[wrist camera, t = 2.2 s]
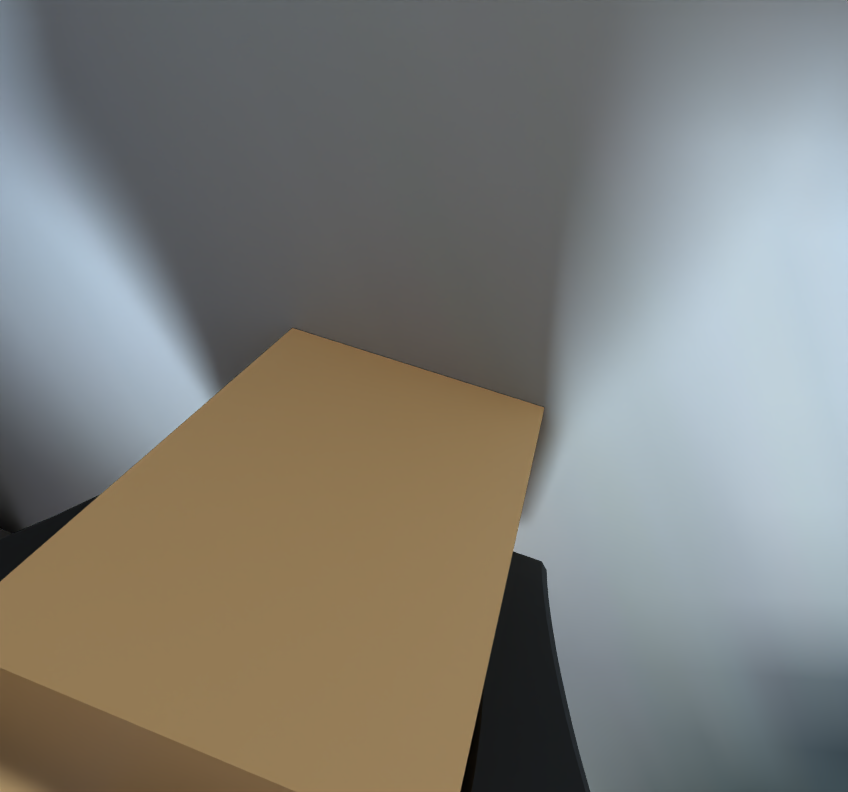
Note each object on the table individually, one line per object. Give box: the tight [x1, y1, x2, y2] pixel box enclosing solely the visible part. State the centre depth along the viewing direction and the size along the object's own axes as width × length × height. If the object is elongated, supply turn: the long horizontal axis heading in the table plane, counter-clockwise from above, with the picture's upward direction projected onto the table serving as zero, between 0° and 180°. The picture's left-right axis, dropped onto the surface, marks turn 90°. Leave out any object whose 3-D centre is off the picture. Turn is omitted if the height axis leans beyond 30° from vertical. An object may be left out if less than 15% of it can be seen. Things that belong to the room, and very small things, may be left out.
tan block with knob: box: [0, 328, 544, 792], centre depth 8 cm, size 5×4×7 cm
